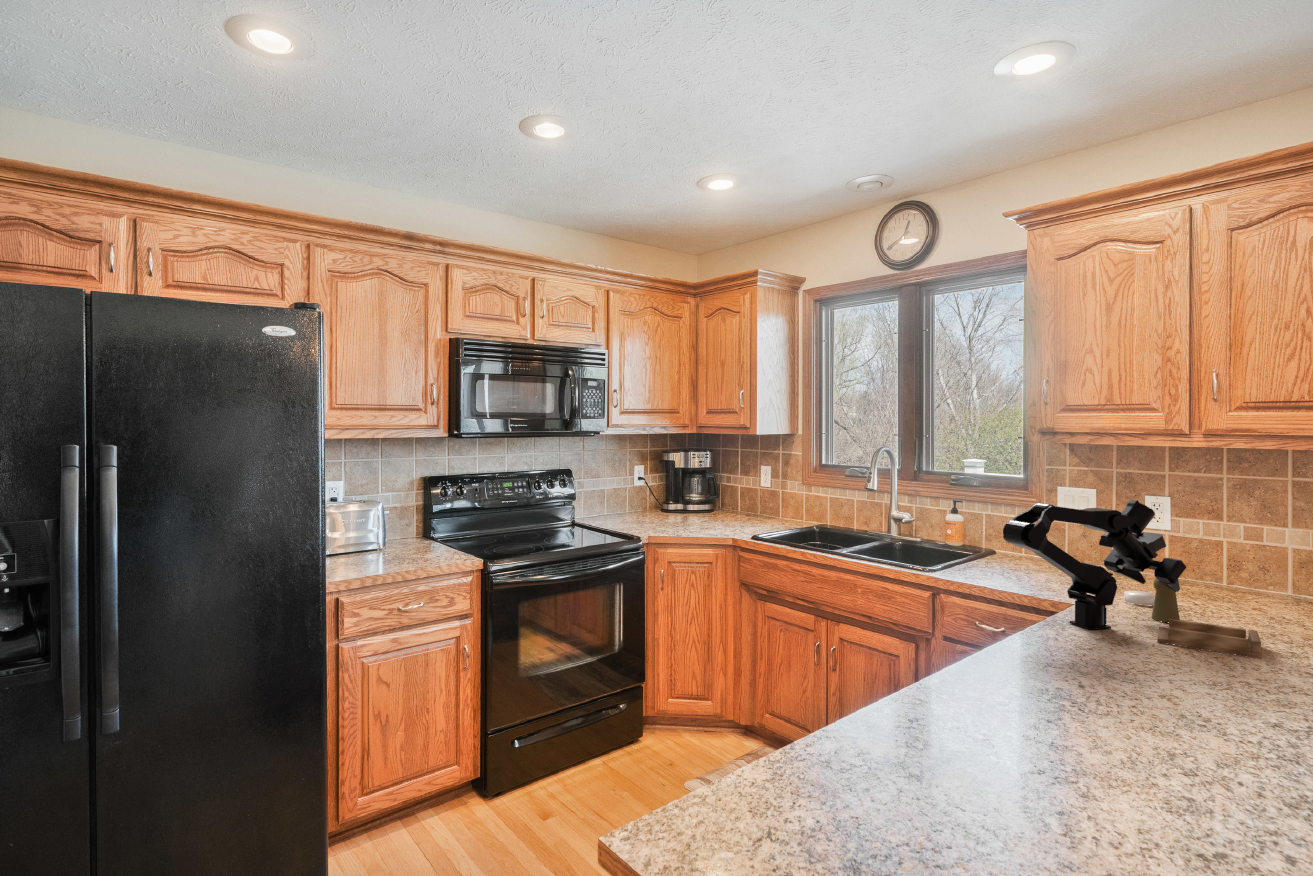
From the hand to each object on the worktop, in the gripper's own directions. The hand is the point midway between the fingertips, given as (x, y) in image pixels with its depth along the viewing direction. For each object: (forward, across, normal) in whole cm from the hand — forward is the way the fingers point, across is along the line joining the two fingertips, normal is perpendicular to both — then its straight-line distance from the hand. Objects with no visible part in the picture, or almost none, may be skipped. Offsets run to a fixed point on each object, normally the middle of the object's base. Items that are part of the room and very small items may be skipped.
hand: (1160, 586), depth 175 cm
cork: (+8, 0, +5) cm, 9 cm away
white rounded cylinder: (+15, +16, -2) cm, 22 cm away
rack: (0, -18, +12) cm, 22 cm away
